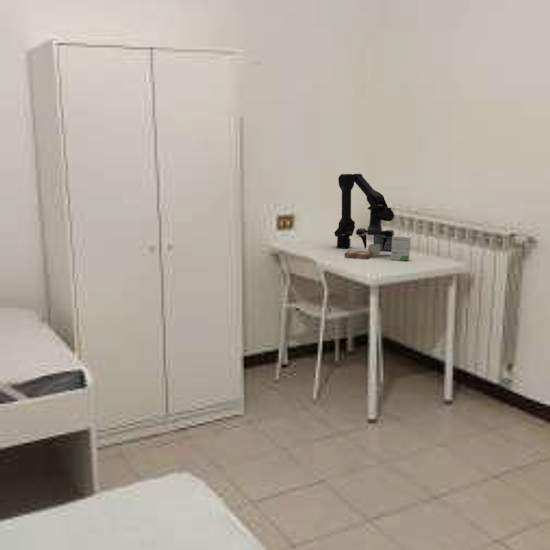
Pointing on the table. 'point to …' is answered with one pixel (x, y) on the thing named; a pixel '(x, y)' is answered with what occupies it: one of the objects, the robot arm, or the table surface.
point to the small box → (379, 240)
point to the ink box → (400, 248)
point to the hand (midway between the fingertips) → (374, 249)
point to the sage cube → (374, 249)
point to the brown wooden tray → (358, 254)
